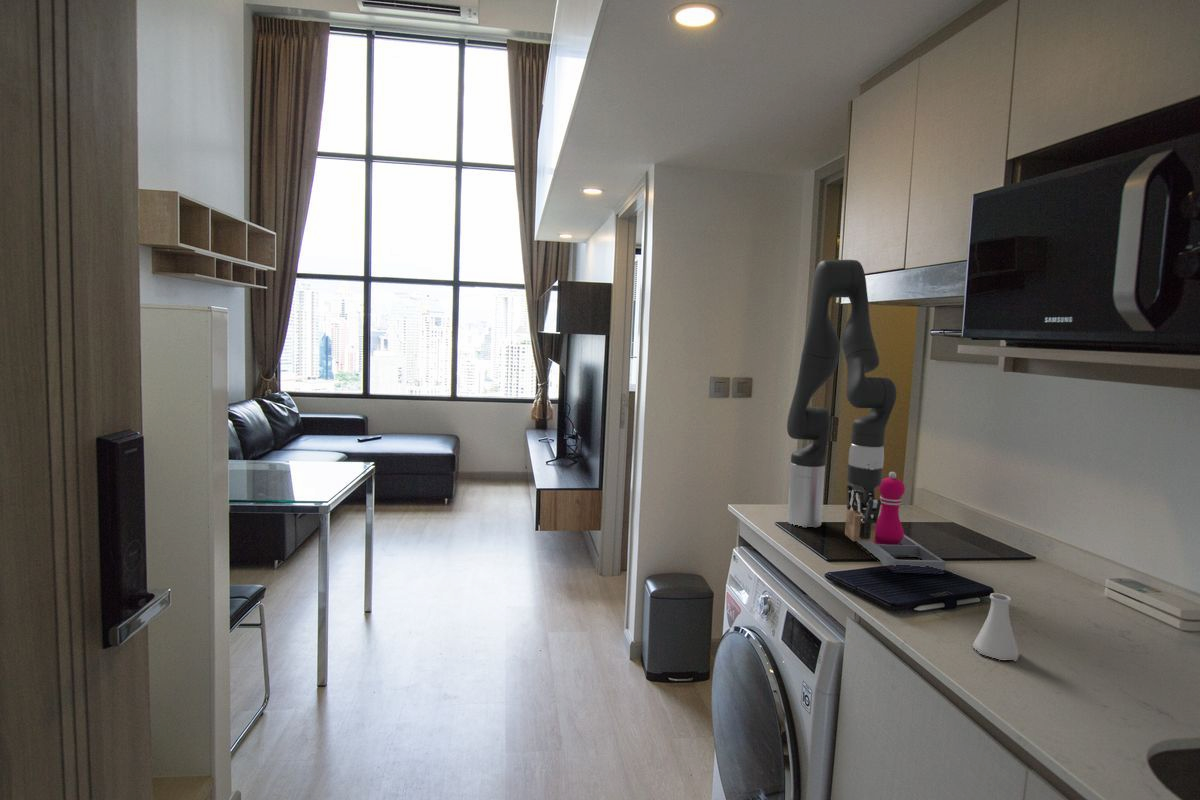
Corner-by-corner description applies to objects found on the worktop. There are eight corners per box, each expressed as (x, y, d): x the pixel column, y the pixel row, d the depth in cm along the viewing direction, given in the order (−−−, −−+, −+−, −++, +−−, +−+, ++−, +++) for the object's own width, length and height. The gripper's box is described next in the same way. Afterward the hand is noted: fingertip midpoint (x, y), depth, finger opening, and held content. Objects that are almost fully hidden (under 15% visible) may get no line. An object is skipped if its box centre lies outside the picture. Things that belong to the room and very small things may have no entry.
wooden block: (844, 534, 159) (846, 509, 158) (865, 534, 159) (867, 510, 159) (853, 541, 154) (855, 516, 153) (874, 541, 154) (876, 516, 154)
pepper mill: (872, 552, 166) (878, 473, 164) (870, 543, 173) (875, 467, 171) (904, 556, 164) (910, 476, 162) (900, 547, 171) (906, 470, 169)
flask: (1024, 666, 111) (1030, 608, 110) (975, 657, 113) (980, 601, 112) (1014, 647, 118) (1020, 592, 116) (968, 639, 120) (973, 585, 119)
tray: (854, 541, 174) (855, 530, 174) (898, 542, 174) (899, 531, 174) (893, 573, 152) (894, 560, 152) (944, 574, 152) (945, 561, 152)
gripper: (837, 456, 161) (832, 524, 164) (862, 470, 147) (856, 545, 149) (868, 457, 162) (863, 525, 164) (895, 471, 147) (889, 545, 150)
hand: (859, 534), depth 157 cm, fingers closed on wooden block, 5 cm apart
